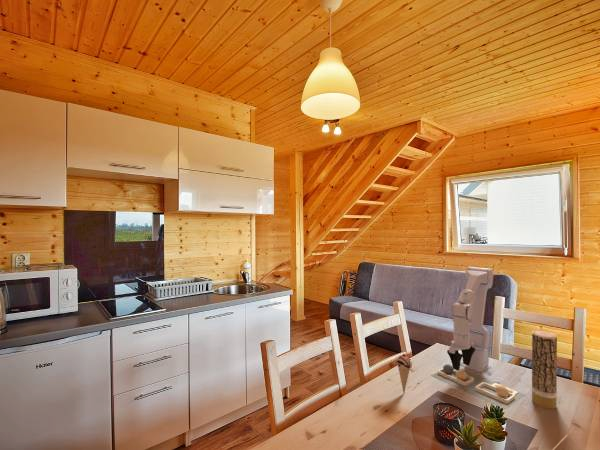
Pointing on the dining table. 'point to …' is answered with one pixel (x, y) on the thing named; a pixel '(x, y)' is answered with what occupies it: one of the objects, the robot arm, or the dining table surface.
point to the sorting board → (480, 388)
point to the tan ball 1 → (461, 374)
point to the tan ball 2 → (502, 391)
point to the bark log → (544, 369)
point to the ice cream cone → (404, 369)
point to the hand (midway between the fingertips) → (461, 367)
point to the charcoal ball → (448, 369)
